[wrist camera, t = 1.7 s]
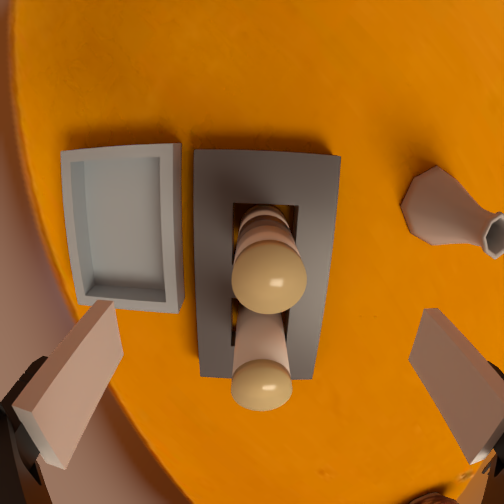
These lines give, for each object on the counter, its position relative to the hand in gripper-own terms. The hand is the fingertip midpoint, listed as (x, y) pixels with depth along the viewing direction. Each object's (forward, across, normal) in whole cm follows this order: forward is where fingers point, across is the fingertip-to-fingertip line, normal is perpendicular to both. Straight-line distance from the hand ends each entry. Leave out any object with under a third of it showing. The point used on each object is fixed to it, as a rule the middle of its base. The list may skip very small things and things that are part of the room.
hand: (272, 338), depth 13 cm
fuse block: (+16, 0, -4) cm, 16 cm away
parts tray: (+16, -12, 0) cm, 20 cm away
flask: (+16, +16, +4) cm, 23 cm away
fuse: (+16, 0, -8) cm, 18 cm away
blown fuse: (+16, 0, 0) cm, 16 cm away
